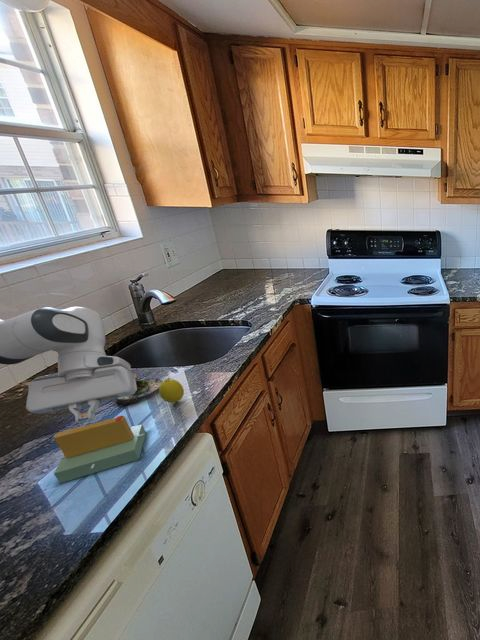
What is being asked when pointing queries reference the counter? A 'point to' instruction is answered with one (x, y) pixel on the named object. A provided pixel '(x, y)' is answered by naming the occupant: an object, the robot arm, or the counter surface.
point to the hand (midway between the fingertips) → (85, 421)
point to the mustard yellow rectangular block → (94, 436)
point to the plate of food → (141, 390)
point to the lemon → (171, 391)
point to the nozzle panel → (101, 457)
